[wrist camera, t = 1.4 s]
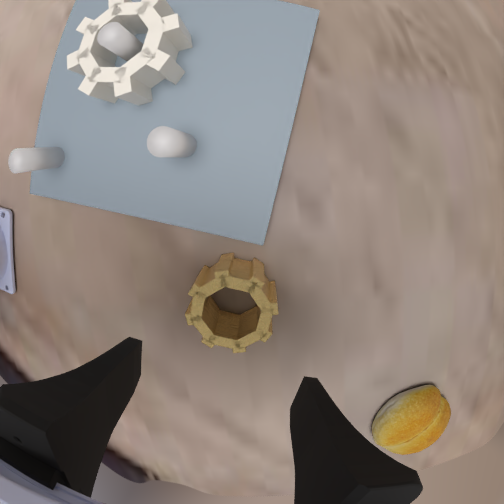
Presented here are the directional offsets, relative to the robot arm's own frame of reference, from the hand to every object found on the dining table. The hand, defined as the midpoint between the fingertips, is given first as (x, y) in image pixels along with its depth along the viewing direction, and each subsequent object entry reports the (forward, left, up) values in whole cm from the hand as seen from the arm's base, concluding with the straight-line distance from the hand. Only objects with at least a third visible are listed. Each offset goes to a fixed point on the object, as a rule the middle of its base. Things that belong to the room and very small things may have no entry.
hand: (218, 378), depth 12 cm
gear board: (-8, +12, -9) cm, 17 cm away
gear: (-10, +14, -8) cm, 19 cm away
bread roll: (+20, -10, -10) cm, 24 cm away
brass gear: (0, 0, -9) cm, 9 cm away
